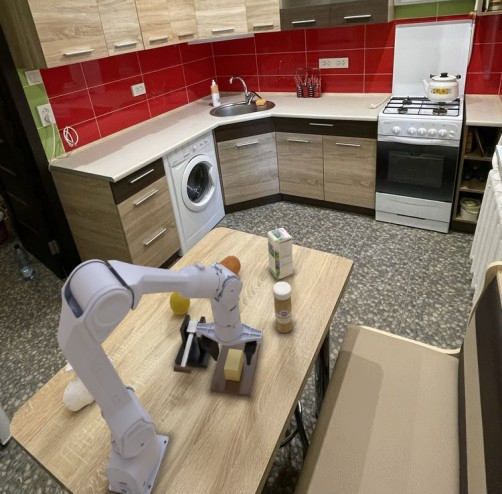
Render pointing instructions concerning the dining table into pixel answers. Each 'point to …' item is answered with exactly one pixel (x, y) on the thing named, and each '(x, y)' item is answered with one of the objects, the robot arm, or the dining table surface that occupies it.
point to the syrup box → (280, 253)
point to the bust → (76, 392)
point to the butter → (233, 364)
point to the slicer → (193, 347)
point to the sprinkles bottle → (283, 306)
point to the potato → (231, 264)
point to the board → (246, 377)
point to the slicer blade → (187, 349)
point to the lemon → (179, 303)
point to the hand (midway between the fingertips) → (233, 359)
